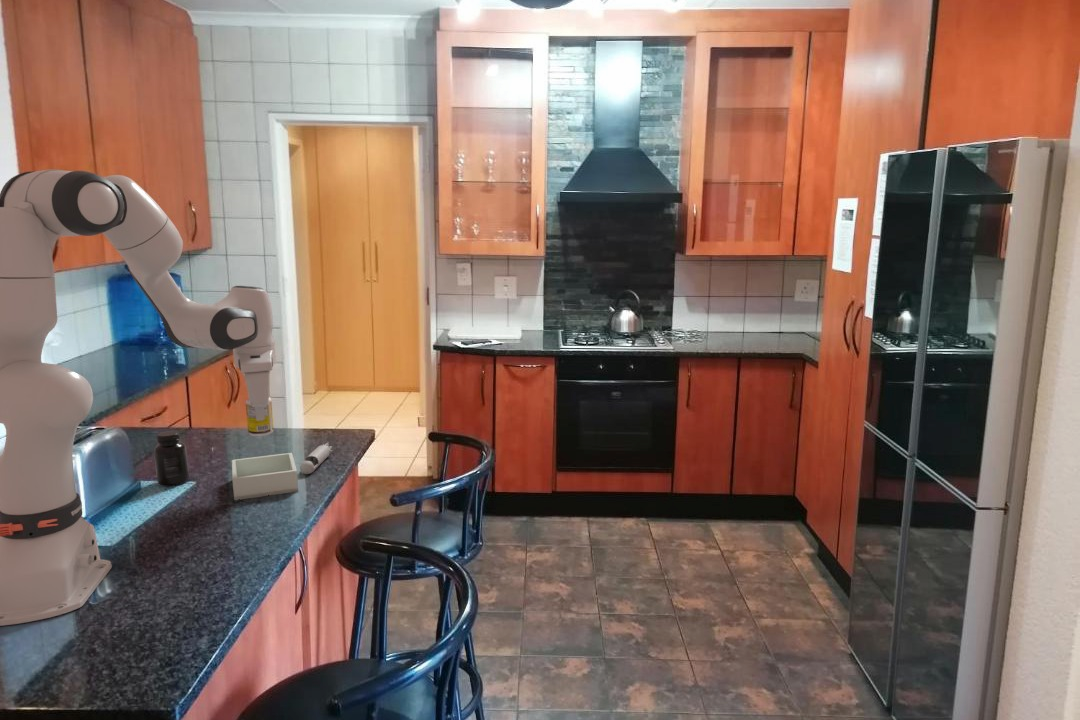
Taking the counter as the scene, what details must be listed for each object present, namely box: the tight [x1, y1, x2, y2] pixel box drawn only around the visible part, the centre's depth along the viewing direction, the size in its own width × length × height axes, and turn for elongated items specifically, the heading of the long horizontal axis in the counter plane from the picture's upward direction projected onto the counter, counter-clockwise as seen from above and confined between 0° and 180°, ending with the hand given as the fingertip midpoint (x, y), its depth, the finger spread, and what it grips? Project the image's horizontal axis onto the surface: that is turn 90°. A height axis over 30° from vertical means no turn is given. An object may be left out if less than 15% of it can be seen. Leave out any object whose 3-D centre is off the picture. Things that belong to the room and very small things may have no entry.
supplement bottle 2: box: [245, 396, 275, 437], centre depth 168 cm, size 6×6×10 cm
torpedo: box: [299, 433, 333, 475], centre depth 186 cm, size 18×5×6 cm, turn 178°
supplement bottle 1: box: [153, 430, 190, 487], centre depth 173 cm, size 7×7×12 cm
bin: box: [231, 452, 299, 501], centre depth 171 cm, size 14×14×5 cm
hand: (259, 415), depth 169 cm, fingers closed on supplement bottle 2, 6 cm apart
